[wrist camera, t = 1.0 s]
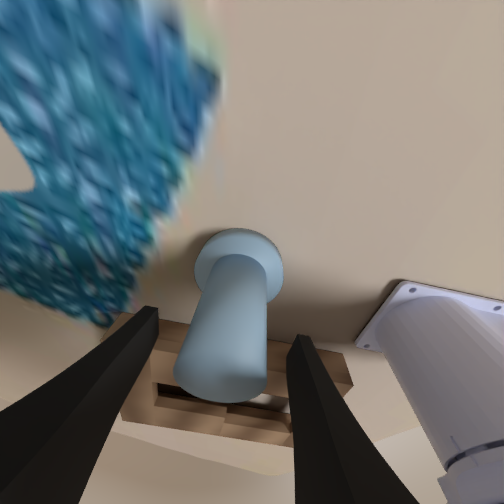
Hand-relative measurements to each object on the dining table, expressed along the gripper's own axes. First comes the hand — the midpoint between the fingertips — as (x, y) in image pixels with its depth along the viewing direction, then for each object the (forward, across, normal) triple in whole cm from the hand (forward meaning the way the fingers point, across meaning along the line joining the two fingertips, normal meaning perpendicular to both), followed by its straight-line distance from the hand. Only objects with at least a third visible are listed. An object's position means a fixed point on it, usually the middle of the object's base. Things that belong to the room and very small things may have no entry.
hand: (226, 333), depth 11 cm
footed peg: (+6, 0, 0) cm, 6 cm away
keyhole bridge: (+6, -1, +16) cm, 17 cm away
